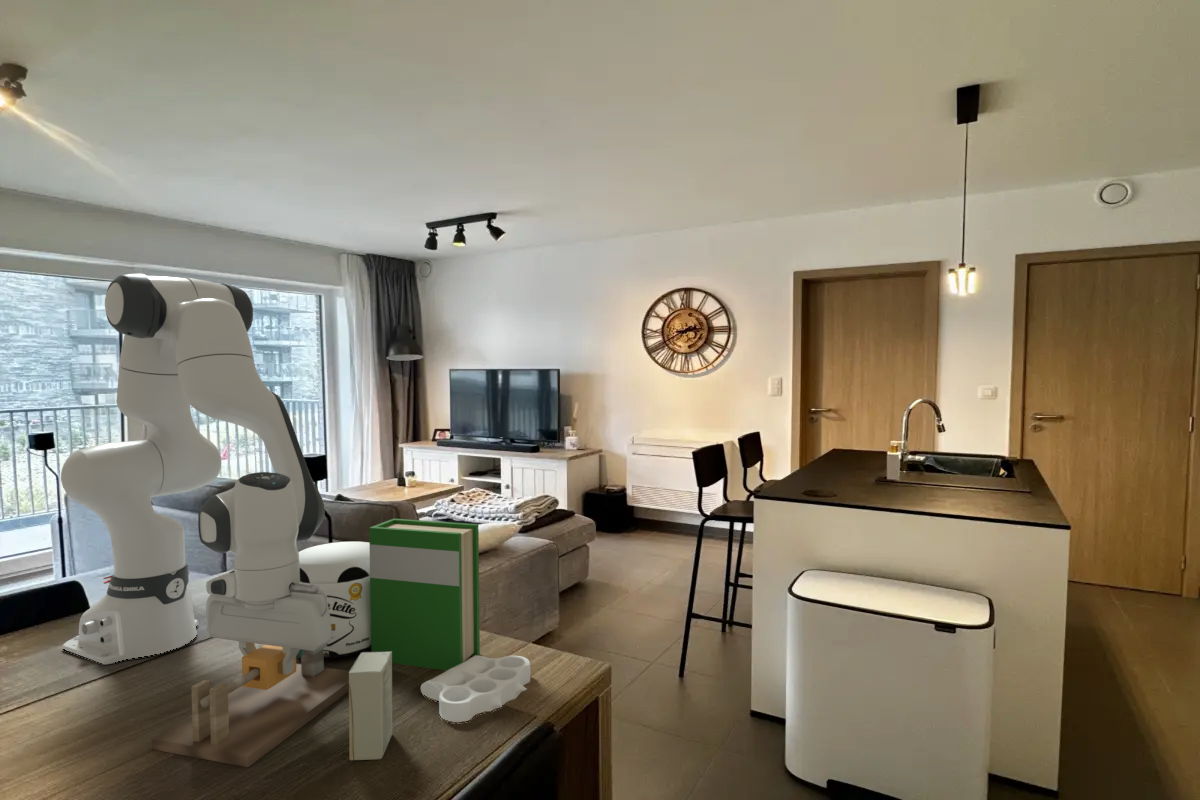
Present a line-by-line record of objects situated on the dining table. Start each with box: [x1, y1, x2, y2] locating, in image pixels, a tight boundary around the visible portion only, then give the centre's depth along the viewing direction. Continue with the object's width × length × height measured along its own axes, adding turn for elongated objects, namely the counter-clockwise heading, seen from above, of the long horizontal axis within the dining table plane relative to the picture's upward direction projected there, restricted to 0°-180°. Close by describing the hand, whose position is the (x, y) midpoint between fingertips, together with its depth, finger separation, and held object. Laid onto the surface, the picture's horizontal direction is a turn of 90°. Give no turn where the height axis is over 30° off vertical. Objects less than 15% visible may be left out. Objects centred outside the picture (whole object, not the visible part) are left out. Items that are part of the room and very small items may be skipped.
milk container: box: [298, 541, 371, 660], centre depth 119 cm, size 17×17×18 cm
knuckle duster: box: [420, 655, 531, 722], centre depth 102 cm, size 3×18×15 cm
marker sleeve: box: [241, 644, 297, 690], centre depth 97 cm, size 4×6×4 cm
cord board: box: [151, 644, 350, 768], centre depth 96 cm, size 16×24×9 cm, turn 165°
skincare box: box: [348, 651, 393, 761], centre depth 87 cm, size 6×4×12 cm
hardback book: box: [368, 518, 481, 671], centre depth 115 cm, size 18×7×24 cm, turn 74°
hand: (270, 670), depth 97 cm, fingers closed on marker sleeve, 4 cm apart
